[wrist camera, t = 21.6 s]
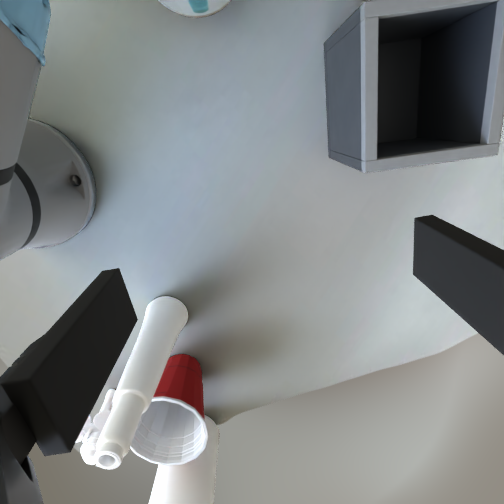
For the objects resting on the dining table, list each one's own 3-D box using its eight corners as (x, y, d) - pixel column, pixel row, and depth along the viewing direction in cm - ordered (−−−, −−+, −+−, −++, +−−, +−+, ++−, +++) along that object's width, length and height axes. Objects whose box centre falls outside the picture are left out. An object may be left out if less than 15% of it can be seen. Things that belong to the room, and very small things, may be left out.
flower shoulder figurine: (149, 396, 53) (123, 469, 42) (141, 412, 54) (114, 487, 43) (94, 378, 51) (52, 449, 40) (88, 395, 52) (45, 469, 41)
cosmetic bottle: (196, 319, 47) (159, 468, 27) (163, 337, 48) (103, 494, 28) (171, 288, 45) (110, 423, 25) (137, 308, 47) (53, 453, 26)
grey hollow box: (498, 155, 27) (524, -24, 22) (365, 173, 27) (364, 1, 23) (420, 145, 39) (426, 27, 34) (328, 157, 39) (323, 43, 35)
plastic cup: (179, 326, 48) (159, 388, 37) (230, 368, 51) (226, 437, 40) (132, 366, 50) (100, 435, 39) (183, 404, 53) (167, 478, 42)
